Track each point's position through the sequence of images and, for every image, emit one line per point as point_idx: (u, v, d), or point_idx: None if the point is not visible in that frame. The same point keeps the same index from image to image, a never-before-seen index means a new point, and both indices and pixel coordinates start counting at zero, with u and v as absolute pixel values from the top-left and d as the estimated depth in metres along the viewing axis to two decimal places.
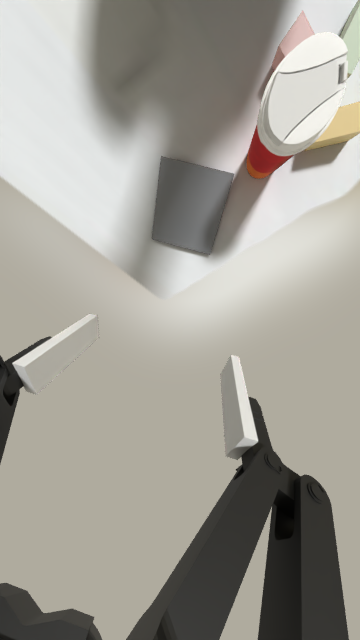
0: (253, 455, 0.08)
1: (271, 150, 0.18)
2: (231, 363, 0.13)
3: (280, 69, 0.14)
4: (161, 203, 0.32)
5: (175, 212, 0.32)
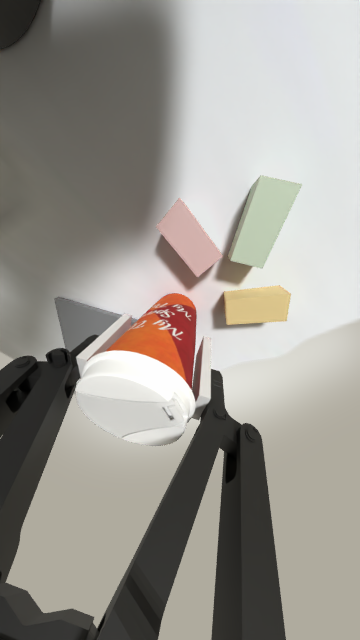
0: (205, 413, 0.09)
1: None
2: (202, 343, 0.14)
3: (77, 389, 0.09)
4: (69, 337, 0.26)
5: None
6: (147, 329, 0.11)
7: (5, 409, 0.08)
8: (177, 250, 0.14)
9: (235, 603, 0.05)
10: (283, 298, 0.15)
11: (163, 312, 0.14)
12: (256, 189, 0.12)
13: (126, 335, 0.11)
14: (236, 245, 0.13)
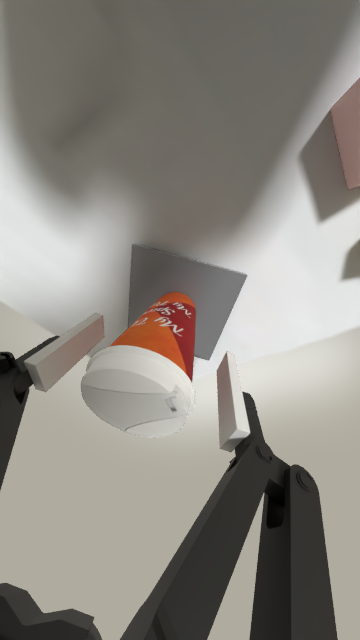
0: (245, 447, 0.08)
1: None
2: (226, 360, 0.13)
3: (82, 383, 0.09)
4: (137, 299, 0.22)
5: None
6: (149, 325, 0.11)
7: None
8: None
9: None
10: None
11: (164, 309, 0.14)
12: None
13: (128, 331, 0.11)
14: None
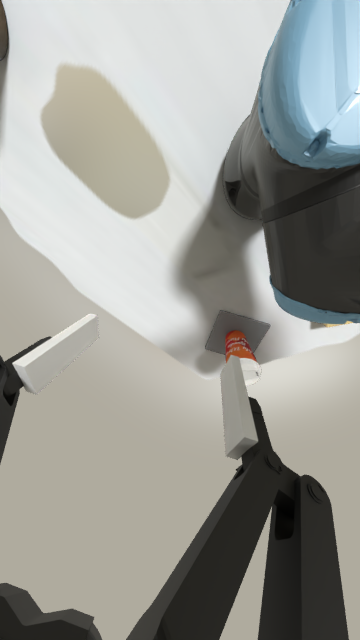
0: (253, 455, 0.08)
1: None
2: (231, 363, 0.13)
3: None
4: (216, 332, 0.45)
5: None
6: (243, 350, 0.35)
7: None
8: None
9: None
10: None
11: (241, 343, 0.38)
12: None
13: (237, 352, 0.35)
14: None
